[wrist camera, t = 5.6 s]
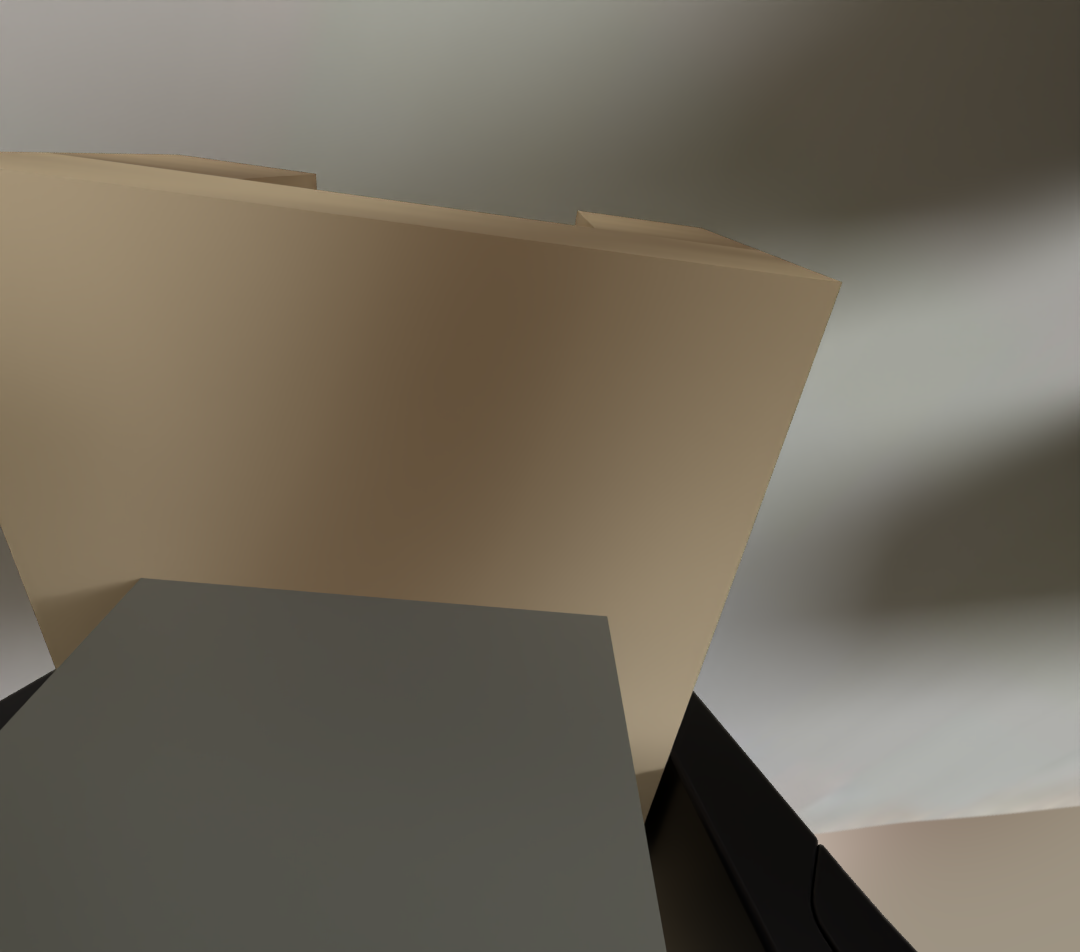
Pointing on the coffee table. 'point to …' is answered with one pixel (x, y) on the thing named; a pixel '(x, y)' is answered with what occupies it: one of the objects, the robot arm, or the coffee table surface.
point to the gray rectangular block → (325, 782)
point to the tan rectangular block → (388, 404)
